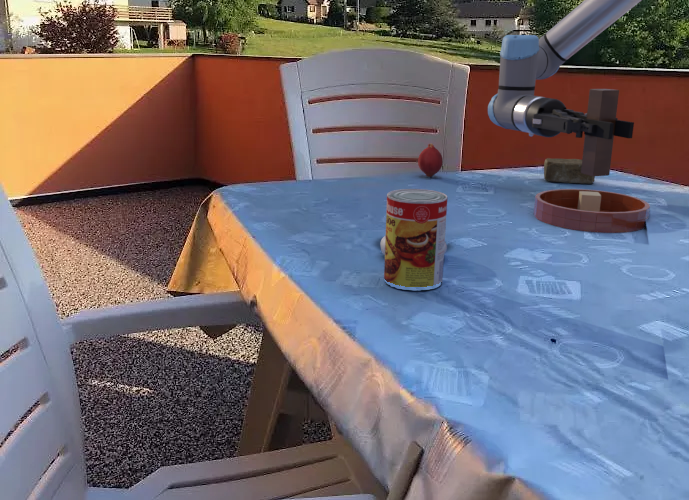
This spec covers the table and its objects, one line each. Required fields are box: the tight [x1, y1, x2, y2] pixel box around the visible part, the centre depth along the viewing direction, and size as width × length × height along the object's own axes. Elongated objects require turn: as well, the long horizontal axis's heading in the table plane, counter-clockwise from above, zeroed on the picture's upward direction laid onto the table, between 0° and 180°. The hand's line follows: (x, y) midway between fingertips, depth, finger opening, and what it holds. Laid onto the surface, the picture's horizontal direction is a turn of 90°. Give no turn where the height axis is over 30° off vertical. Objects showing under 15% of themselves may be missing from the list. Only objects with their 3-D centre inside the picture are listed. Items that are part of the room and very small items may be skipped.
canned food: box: [383, 188, 448, 287], centre depth 94 cm, size 8×8×12 cm
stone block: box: [543, 157, 596, 185], centre depth 165 cm, size 6×12×5 cm, turn 80°
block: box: [578, 191, 601, 212], centre depth 134 cm, size 4×4×4 cm
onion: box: [417, 142, 444, 178], centre depth 167 cm, size 6×6×8 cm
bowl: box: [533, 188, 651, 234], centre depth 129 cm, size 20×20×4 cm
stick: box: [581, 88, 620, 177], centre depth 126 cm, size 4×4×15 cm
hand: (621, 130), depth 121 cm, fingers closed on stick, 3 cm apart
